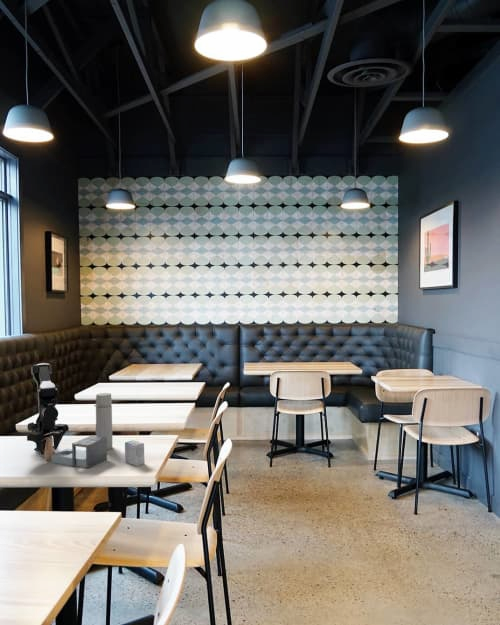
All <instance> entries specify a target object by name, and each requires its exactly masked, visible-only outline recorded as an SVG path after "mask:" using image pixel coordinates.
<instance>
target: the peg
mask: <svg viewBox="0 0 500 625" xmlns="http://www.w3.org/2000/svg"><path fill="white" fill-rule="evenodd" d="M45 439H46V445H45V451H44V460H45V461H51V455H53V454H54V448H53V446H54V444H53V436H52V437H48V438H45Z"/></svg>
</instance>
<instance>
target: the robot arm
mask: <svg viewBox="0 0 500 625" xmlns="http://www.w3.org/2000/svg"><path fill="white" fill-rule="evenodd" d="M30 369H31V371H30V373H31V375H32V378H33V379H32V380H34V382H35V383H36V385H37V386H36V388H37V402H38V403H37V405H38V415H37V418H36V419H35V423H34V422H33V421H32V422H29V423H27V431H29V432H30V433H27V435H26V441H27V442H33V443H34V444H35V446H36V447H35V448H33V450H34V451H39V454H40V456H44V455H45V445H46V439H45V438H48V437H52V438H53V451H54V450H57V449H58V447H59V445H60V444H61V441H62V439H63V437H64V435H66V432H68V431H70V430H69V428H70V427H69V425H68V424H66V423H56V421H58V417H59V410H58V409H57V407H56V404H59V403H60V401H61V400H60V399H61V398H60V393H59V390H58V388H56V385H55V383H54V382H52V381H51V380H52V379H51V374H52V373H53V372H52V364H50V363H46V362H45V363H44V362H43V363H38V364H34V365H32V366H31V368H30Z"/></svg>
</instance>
